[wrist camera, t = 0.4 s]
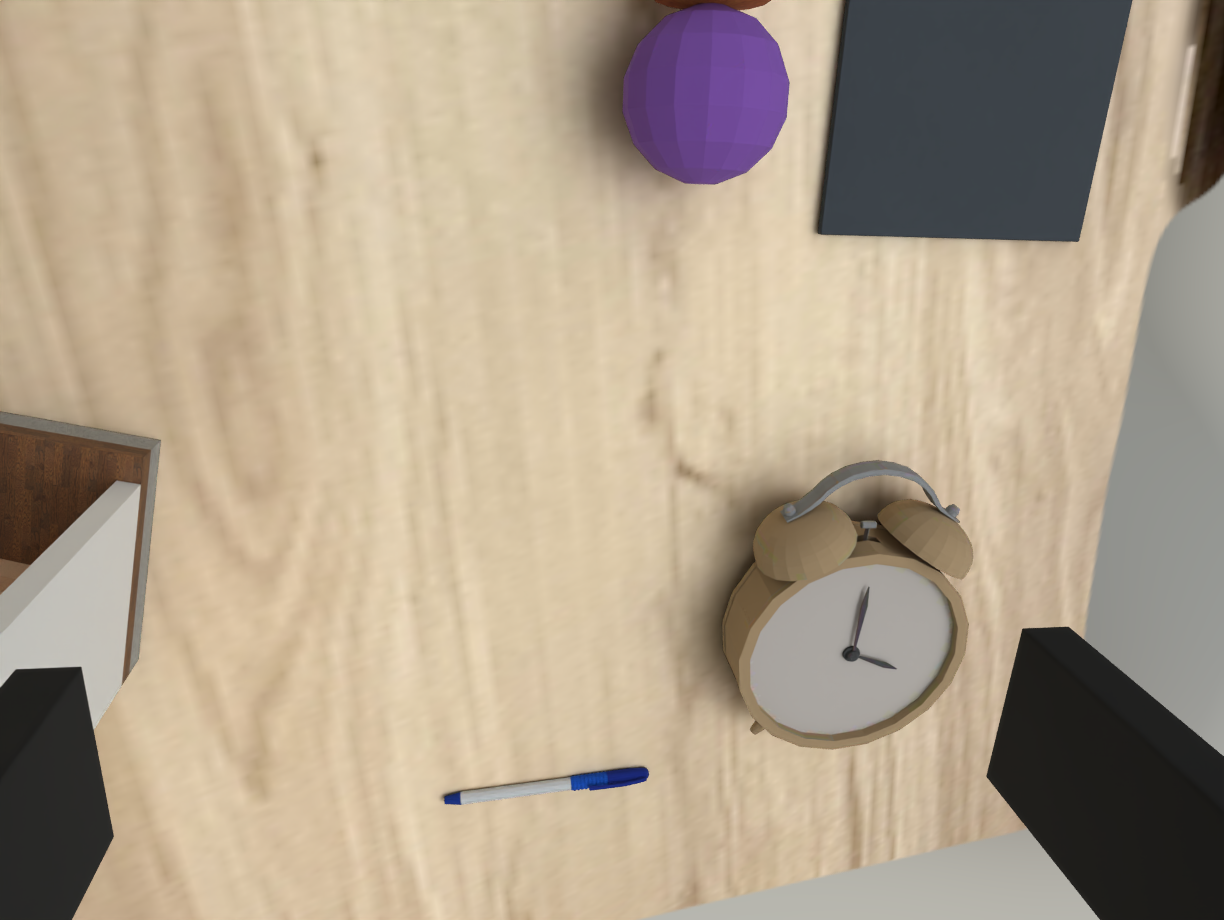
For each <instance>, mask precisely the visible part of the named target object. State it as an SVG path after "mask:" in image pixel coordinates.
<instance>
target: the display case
mask: <svg viewBox="0 0 1224 920" xmlns="http://www.w3.org/2000/svg"><path fill="white" fill-rule="evenodd" d="M160 443H161V440H156V439H150V438H145V437H139V436H134V435H128V434H122V433H117V432H111V431H106V430H100V429H95V428H89V427H83V426H78V425H72V424H67V423H61V422H56V421H50V420H45V419H39V418H33V417H28V416H22V415H17V414H11V413H6V412H0V687H1V686H2V685H3V684H4V682H5V681H6V680H7V679H8V678H9V677H10V675H11V674H12V673H13V672H14V671H15V669H33V668H58V667H82V672H83V677H84V683H85V688H86V693H87V698H88V704H89V709H90V714H91V719H92V725H93V730H94V729H95V727H96V726H97V724H98V723H99V721H100V719H101V718H102V716H103V715H104V713H105V711H106V710H107V708H108V707H109V705H110V703H111V702H112V700H113V699H114V697H115V696H116V694H117V692H118V691H119V689H120V688H121V686H122V684H123V683H124V681H125V680H126V678H127V677H128V675H129V673H130V672H131V670H132V669H133V667H134V665H135V664H136V662H137V661H138V659H139V649H140V640H141V630H142V620H143V610H144V600H145V590H146V581H147V571H148V561H149V551H150V541H151V531H152V521H153V512H154V502H155V492H156V482H157V472H158V462H159V453H160Z"/></svg>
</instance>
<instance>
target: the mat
mask: <svg viewBox="0 0 1224 920" xmlns="http://www.w3.org/2000/svg"><path fill="white" fill-rule="evenodd" d="M1131 4H1132V0H846V3H845V11H844V20H843V28H842V36H841V44H840V53H839V61H838V69H837V78H836V86H835V94H834V103H833V111H832V119H831V128H830V136H829V144H828V152H827V161H826V169H825V177H824V186H823V194H822V202H821V211H820V219H819V227H818V234H823V235H858V236H894V237H930V238H965V239H1001V240H1037V241H1072V242H1078V241H1079V238H1080V234H1081V229H1082V225H1083V220H1084V216H1085V211H1086V207H1087V202H1088V198H1089V193H1090V189H1091V184H1092V180H1093V175H1094V171H1095V166H1096V162H1097V157H1098V153H1099V148H1100V144H1101V139H1102V135H1103V130H1104V126H1105V121H1106V117H1107V112H1108V108H1109V103H1110V99H1111V94H1112V90H1113V85H1114V81H1115V76H1116V72H1117V67H1118V63H1119V58H1120V54H1121V49H1122V45H1123V40H1124V36H1125V31H1126V27H1127V22H1128V18H1129V13H1130V9H1131Z"/></svg>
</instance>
